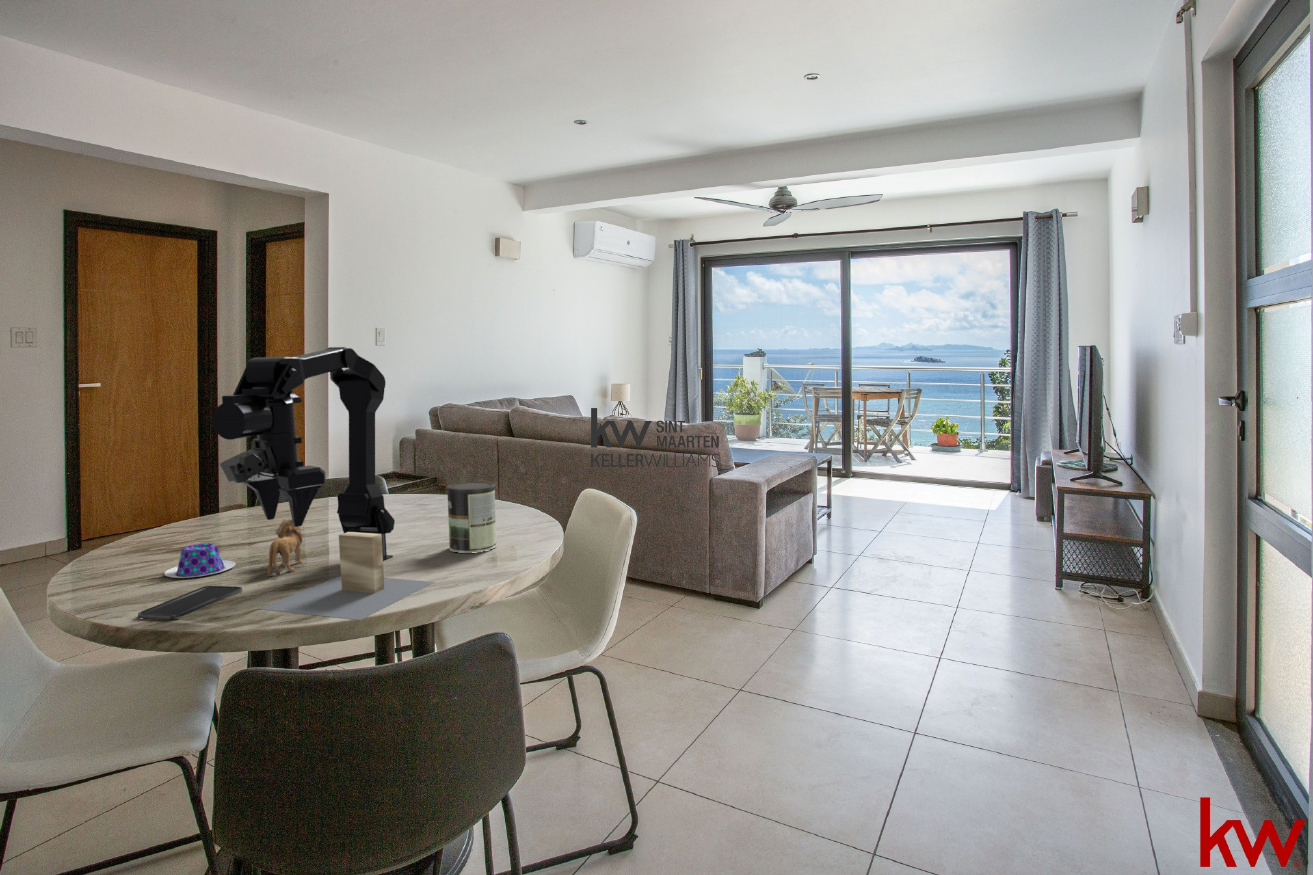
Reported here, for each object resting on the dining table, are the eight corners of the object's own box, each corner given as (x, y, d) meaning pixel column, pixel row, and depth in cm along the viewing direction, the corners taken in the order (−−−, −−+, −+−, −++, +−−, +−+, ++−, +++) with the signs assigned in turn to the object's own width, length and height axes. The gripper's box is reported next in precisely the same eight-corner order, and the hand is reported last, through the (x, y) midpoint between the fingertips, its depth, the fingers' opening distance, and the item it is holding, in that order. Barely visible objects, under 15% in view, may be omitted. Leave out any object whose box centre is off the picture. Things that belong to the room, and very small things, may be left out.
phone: (134, 614, 113) (206, 585, 128) (134, 621, 113) (207, 591, 128) (177, 616, 112) (245, 586, 127) (178, 623, 112) (246, 592, 127)
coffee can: (445, 555, 150) (442, 489, 148) (453, 543, 160) (451, 481, 158) (494, 553, 151) (492, 488, 149) (499, 541, 161) (497, 480, 159)
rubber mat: (344, 576, 135) (344, 574, 135) (434, 584, 129) (434, 582, 129) (258, 611, 116) (258, 608, 116) (360, 622, 110) (360, 619, 110)
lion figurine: (277, 560, 147) (275, 518, 146) (306, 557, 149) (303, 516, 148) (264, 580, 133) (261, 533, 132) (295, 577, 135) (292, 531, 134)
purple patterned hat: (202, 582, 133) (199, 555, 133) (148, 579, 135) (146, 553, 135) (249, 564, 145) (248, 540, 144) (199, 562, 147) (197, 537, 147)
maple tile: (351, 585, 128) (348, 531, 127) (384, 588, 126) (381, 533, 125) (341, 589, 125) (338, 535, 124) (375, 593, 123) (372, 537, 122)
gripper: (199, 434, 117) (208, 525, 119) (253, 441, 106) (262, 541, 108) (268, 427, 126) (275, 512, 128) (324, 433, 115) (331, 526, 117)
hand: (284, 522), depth 120 cm, fingers open, 9 cm apart
